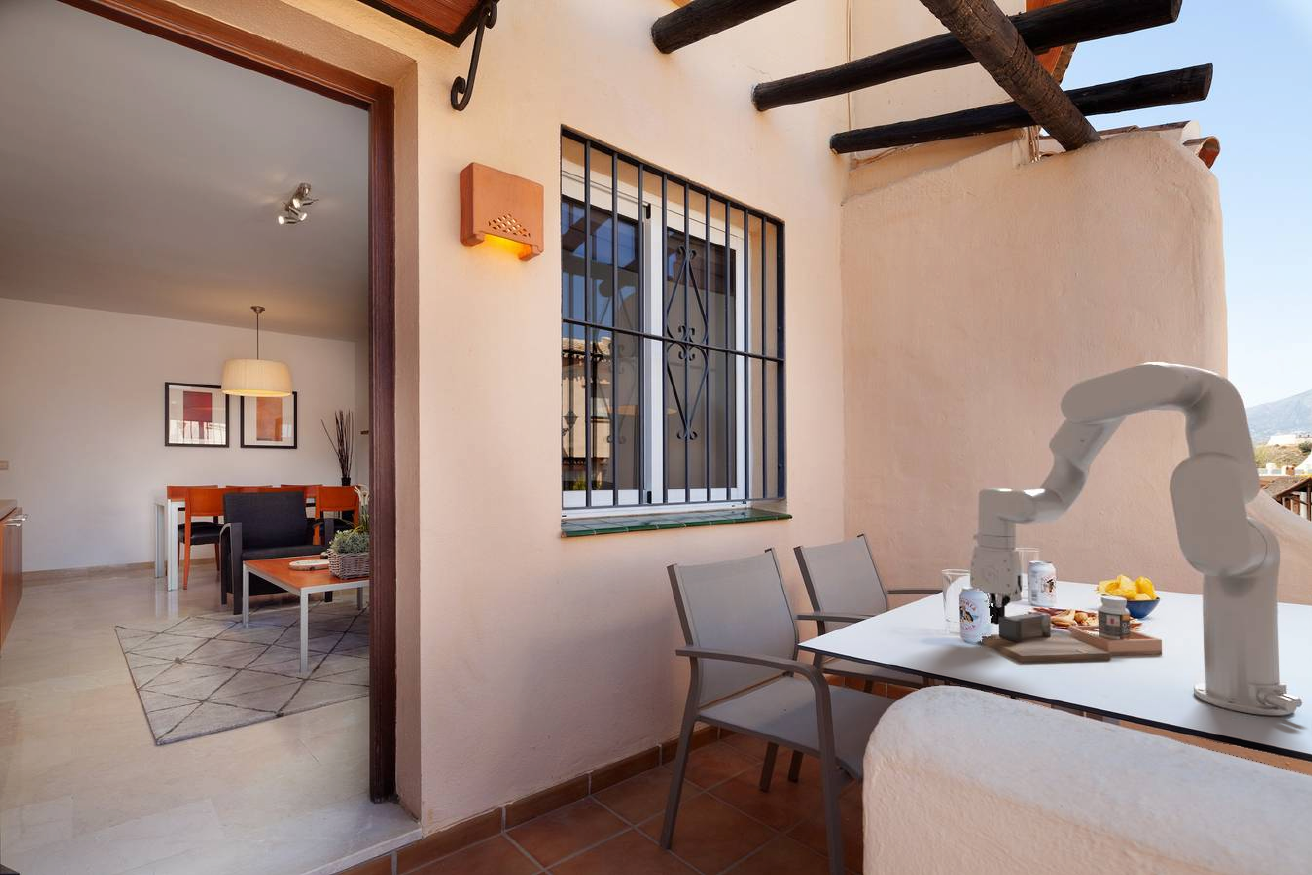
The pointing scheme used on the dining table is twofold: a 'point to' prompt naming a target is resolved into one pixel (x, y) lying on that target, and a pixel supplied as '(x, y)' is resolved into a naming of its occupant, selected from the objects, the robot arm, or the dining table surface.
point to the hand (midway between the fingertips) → (996, 622)
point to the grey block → (1025, 626)
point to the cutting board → (1046, 649)
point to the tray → (1118, 642)
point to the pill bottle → (1114, 618)
